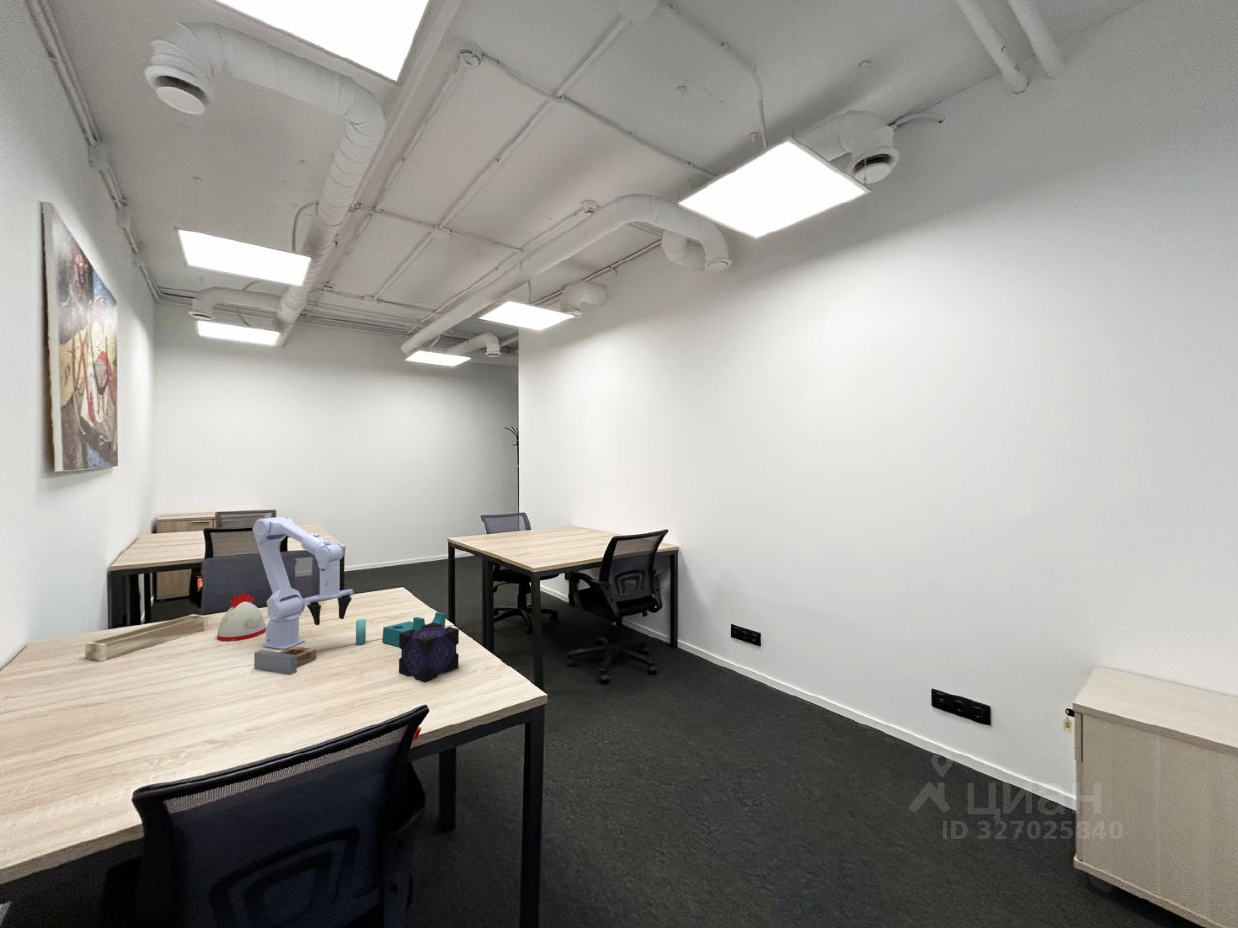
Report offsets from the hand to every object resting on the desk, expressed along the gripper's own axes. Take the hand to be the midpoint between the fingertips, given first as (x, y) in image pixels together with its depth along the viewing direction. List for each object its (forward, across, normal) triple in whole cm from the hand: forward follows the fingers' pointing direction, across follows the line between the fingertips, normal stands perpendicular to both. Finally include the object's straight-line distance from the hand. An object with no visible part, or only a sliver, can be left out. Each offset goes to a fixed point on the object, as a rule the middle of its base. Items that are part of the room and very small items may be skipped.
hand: (329, 621), depth 161 cm
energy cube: (+10, +10, -41) cm, 43 cm away
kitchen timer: (+10, -12, +40) cm, 43 cm away
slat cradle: (+9, -33, +55) cm, 65 cm away
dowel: (+10, +9, -3) cm, 13 cm away
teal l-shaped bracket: (+10, +20, -16) cm, 28 cm away
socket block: (+10, -12, -2) cm, 15 cm away
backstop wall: (+10, -17, -4) cm, 20 cm away
